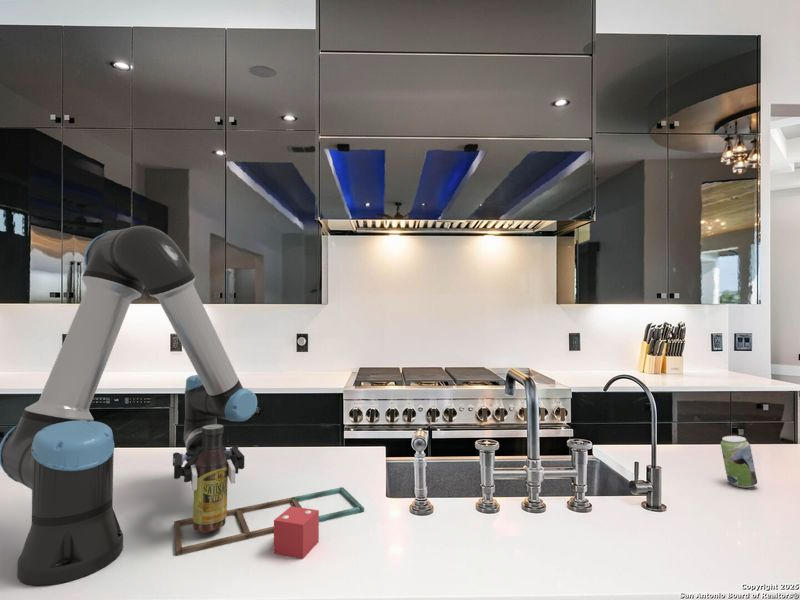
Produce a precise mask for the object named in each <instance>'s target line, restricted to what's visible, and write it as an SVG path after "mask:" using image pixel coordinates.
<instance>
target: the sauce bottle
mask: <svg viewBox="0 0 800 600" xmlns="http://www.w3.org/2000/svg"><path fill="white" fill-rule="evenodd" d="M224 432H225V431H224V425H223V424H218V423H217V424H214V425H207V426H203V427H202V435H203V445H202V452H201V453H200V454H199V456H198V458H197V461H196V465H195V467H196V471H197V490H193V502H192V503H193V509H192V510H193V511H192V518H193V521H194V523H192V528H193V530H194V531H196V532H197V533H211V532H214V531H218V530H219V529H221V528H222V527H224V526H225V524H226V518H227V517H228V516H227V510H228V484H229V483H228V480H229V478H228V465H227V460H226V455H225V453H224V450H223V445H224V444H223V434H224Z"/></svg>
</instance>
